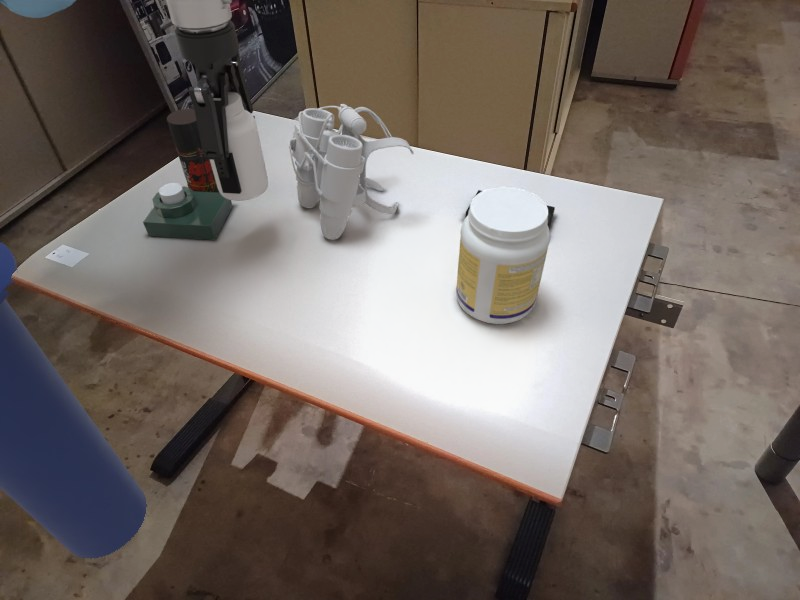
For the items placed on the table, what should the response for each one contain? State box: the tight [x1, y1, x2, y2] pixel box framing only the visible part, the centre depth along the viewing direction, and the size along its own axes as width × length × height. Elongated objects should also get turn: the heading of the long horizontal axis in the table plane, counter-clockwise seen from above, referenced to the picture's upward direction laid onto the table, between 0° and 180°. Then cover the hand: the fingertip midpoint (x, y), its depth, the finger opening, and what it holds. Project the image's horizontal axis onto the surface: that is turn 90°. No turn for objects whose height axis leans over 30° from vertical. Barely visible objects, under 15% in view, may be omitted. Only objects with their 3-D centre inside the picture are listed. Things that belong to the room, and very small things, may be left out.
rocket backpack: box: [289, 103, 415, 241], centre depth 96 cm, size 18×19×20 cm
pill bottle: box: [210, 92, 269, 202], centre depth 83 cm, size 8×8×15 cm
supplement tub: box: [455, 186, 551, 325], centre depth 79 cm, size 12×12×17 cm
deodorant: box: [166, 108, 220, 193], centre depth 101 cm, size 6×6×15 cm
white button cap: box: [158, 182, 186, 205], centre depth 96 cm, size 4×4×2 cm
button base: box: [142, 185, 234, 241], centre depth 98 cm, size 12×10×5 cm
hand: (241, 176), depth 87 cm, fingers closed on pill bottle, 8 cm apart
